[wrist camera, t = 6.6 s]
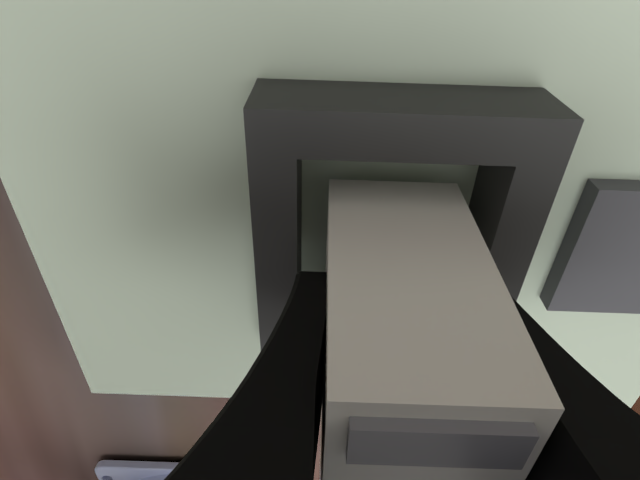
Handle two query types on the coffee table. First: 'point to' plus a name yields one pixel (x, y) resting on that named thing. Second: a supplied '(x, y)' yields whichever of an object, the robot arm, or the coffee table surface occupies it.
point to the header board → (313, 163)
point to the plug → (424, 344)
